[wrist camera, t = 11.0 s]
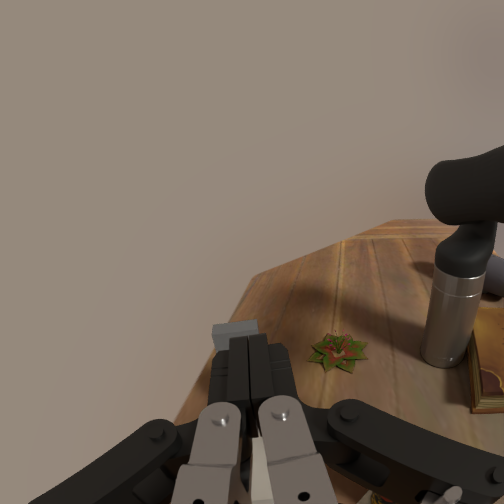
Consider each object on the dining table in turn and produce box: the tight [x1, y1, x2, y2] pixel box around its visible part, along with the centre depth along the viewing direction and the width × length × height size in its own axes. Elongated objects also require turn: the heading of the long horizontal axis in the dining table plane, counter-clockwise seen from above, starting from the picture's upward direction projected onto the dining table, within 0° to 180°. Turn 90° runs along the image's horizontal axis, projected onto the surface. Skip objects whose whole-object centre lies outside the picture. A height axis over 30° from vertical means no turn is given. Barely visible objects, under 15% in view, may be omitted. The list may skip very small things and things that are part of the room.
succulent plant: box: [307, 330, 368, 373], centre depth 48 cm, size 12×12×5 cm
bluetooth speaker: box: [482, 254, 504, 297], centre depth 57 cm, size 23×9×10 cm, turn 21°
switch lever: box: [212, 319, 259, 353], centre depth 34 cm, size 4×6×16 cm, turn 93°
